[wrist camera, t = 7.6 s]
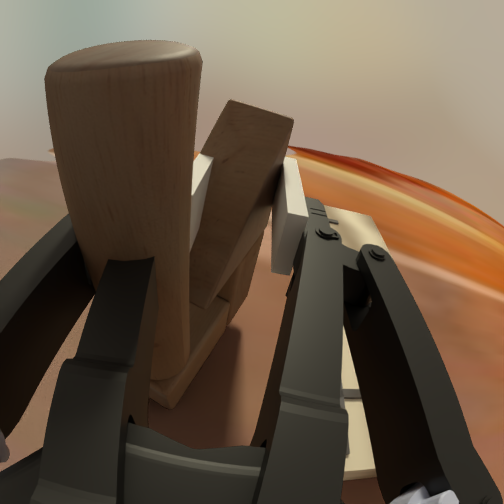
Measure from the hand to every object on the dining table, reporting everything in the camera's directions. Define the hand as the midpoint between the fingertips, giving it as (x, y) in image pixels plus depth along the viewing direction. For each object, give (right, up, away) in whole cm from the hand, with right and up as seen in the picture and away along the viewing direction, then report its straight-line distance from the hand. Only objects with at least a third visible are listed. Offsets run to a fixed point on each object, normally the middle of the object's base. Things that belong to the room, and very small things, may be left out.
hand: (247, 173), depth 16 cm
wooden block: (-4, -10, +4) cm, 12 cm away
